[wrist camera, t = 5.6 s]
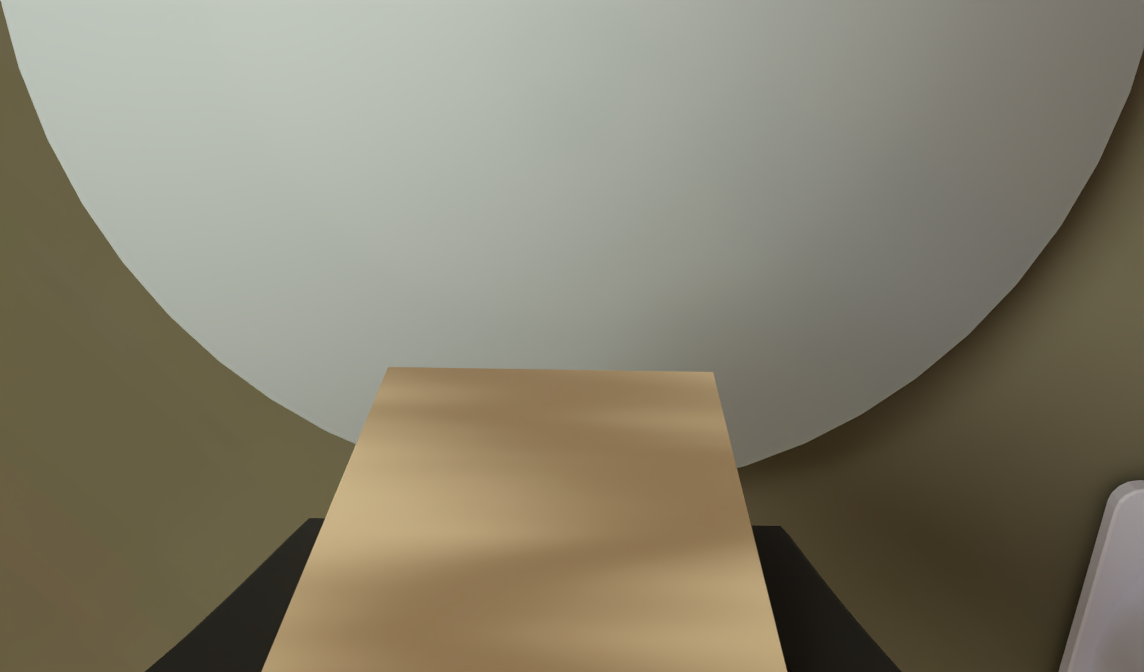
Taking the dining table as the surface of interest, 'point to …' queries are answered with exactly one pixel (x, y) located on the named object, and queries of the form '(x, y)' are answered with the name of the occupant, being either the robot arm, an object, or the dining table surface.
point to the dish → (581, 182)
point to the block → (535, 532)
